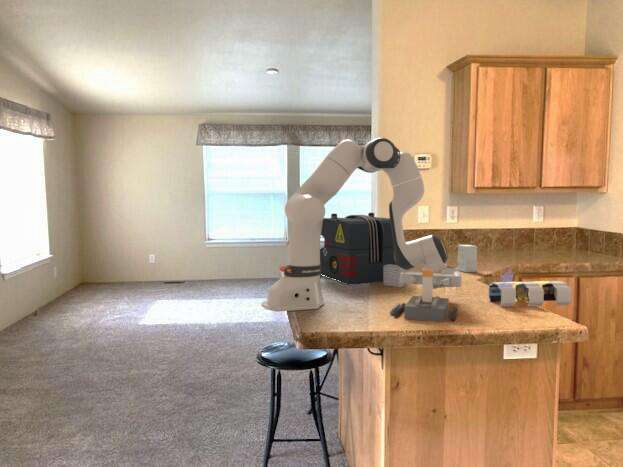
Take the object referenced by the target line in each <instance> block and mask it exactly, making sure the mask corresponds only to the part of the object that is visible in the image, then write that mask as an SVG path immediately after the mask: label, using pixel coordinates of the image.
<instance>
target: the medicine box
mask: <svg viewBox="0 0 623 467" xmlns="http://www.w3.org/2000/svg"><path fill="white" fill-rule="evenodd" d="M403 271H405V269H402V268H400V267H399V266H397V265H390V264H388V265H384V266H383V282H382V283H383V286H389V287H395V288H402V287H404V286H405V283H401V282H400V273H401V272H403Z"/></svg>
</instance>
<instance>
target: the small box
mask: <svg viewBox="0 0 623 467" xmlns="http://www.w3.org/2000/svg"><path fill="white" fill-rule="evenodd" d="M477 264H478V245H473V244H457V266H456V268H458V269H459V272H463V273H476V272H477V269H478V268H477V266H478V265H477Z"/></svg>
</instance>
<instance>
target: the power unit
mask: <svg viewBox="0 0 623 467" xmlns="http://www.w3.org/2000/svg"><path fill="white" fill-rule="evenodd" d="M321 237H322V238H323V239H324V242H323V243H324V245H323V246H324V247H320V264H321V274H322V275H325V276H327V277H330V278H333V279H336V280H339V281H341V282H344V283H347V284H346V285H348V284H355V285H362V284H361V283H365V284H373V283H374V282H375V283H383V266H384V265H388V264H390V265H397V264H396V262H395V258H394V245H393V237H392V231H391V224H390V217H377V216H375V213H374V212H368V214H367V215H366V214H349V215H346V216H345V217H338V214H337V213H331V215H330V217H324V218H323V224H322V231H321ZM341 282H340V283H341ZM344 283H343V284H344Z"/></svg>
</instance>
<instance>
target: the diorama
mask: <svg viewBox="0 0 623 467" xmlns="http://www.w3.org/2000/svg"><path fill="white" fill-rule="evenodd" d="M503 274H504V275H500V278H501V281H496V282H494V281H493V282H492V283H489V285H488V300H489V303H495V302H494V301H501V302H500V304H499V308H503V307H502V306H514V307H515V304H516V302H528V303H527V307H542V306H543V304H544V302H547V301H550V302H551V301H552V302H553V301H554V302H555V301H556V302H555V307H556V306H557V307H559V306H560V307H562V306H563V307H564V306H567V307H568V306H570V304H571V303H572V292H573V290H572V288H571V287H570V286H568V283H567V282H564V281H562V280H561V281H560V280H547V281H543V280H541V281H514V276H515V275H514V274H513V270H512V269H510V270H507V272H505V273H503ZM516 300H518V301H516ZM519 300H520V301H519ZM529 305H530V306H529Z"/></svg>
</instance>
